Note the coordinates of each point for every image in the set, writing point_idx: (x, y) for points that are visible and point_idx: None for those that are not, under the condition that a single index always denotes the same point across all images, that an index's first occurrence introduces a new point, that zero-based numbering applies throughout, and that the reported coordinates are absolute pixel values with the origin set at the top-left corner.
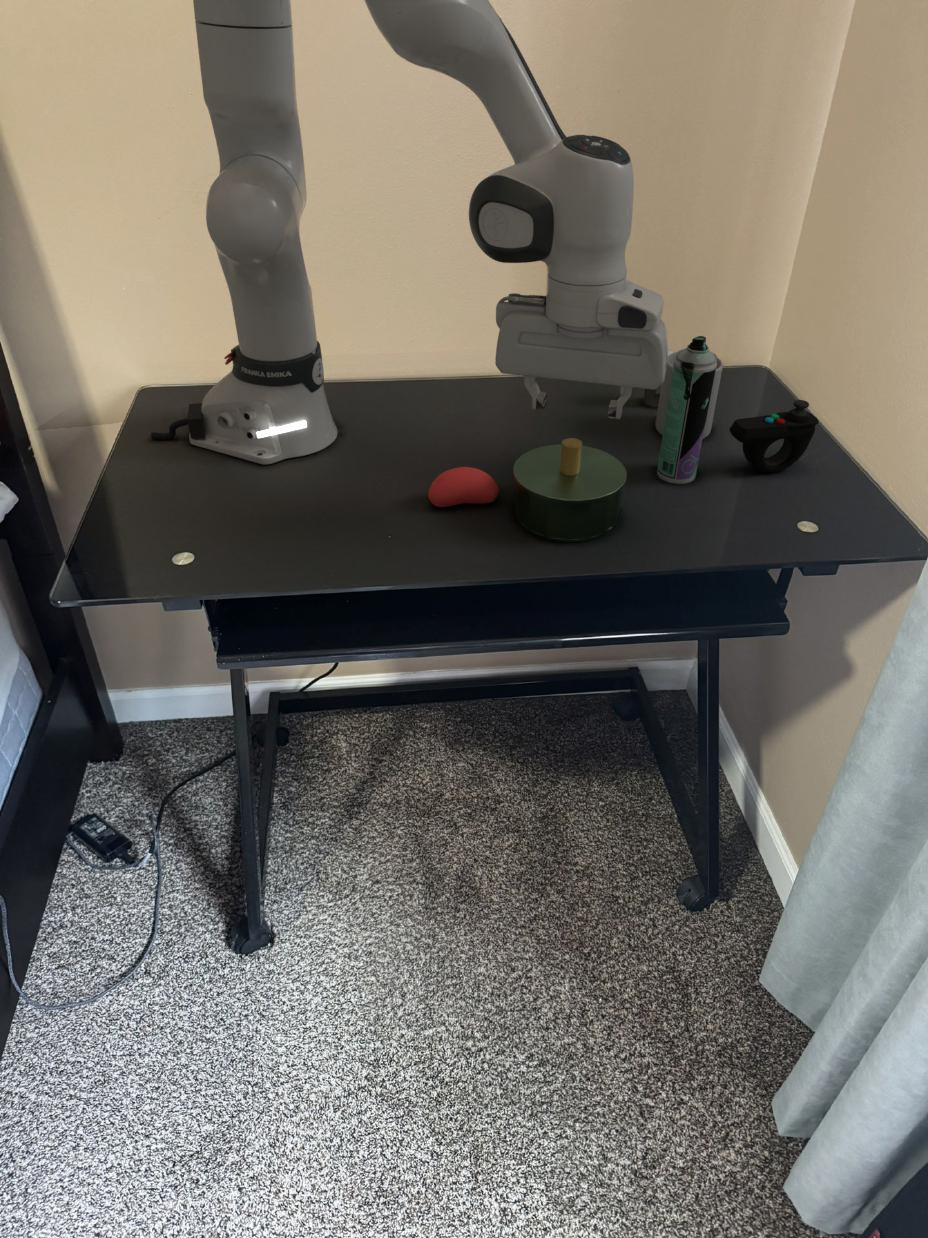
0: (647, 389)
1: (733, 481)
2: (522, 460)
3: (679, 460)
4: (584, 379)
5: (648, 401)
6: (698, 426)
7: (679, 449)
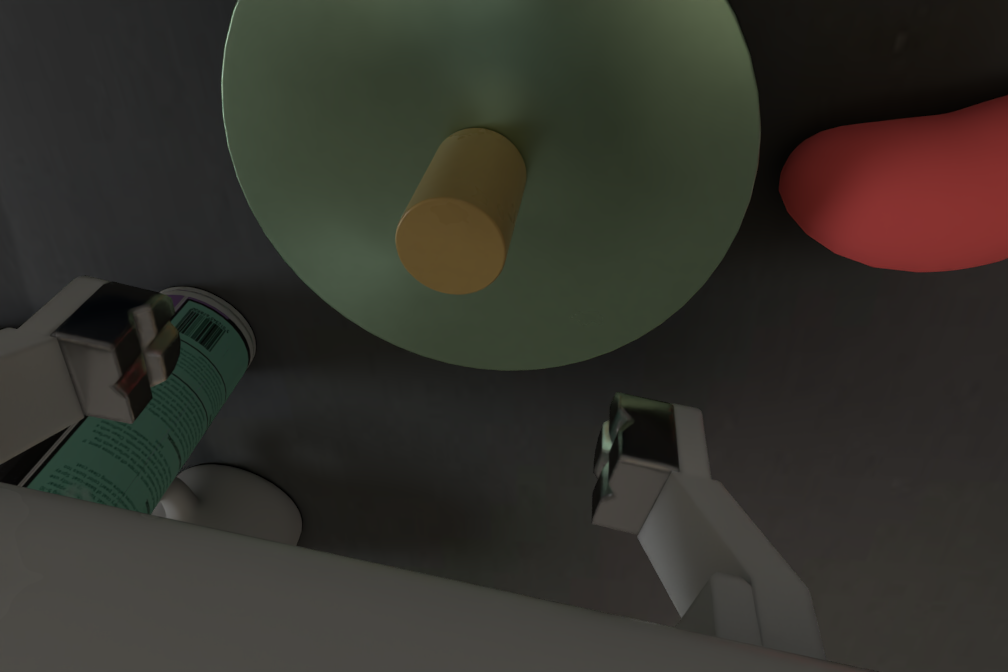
0: None
1: (48, 300)
2: (698, 251)
3: None
4: (186, 546)
5: None
6: None
7: None
